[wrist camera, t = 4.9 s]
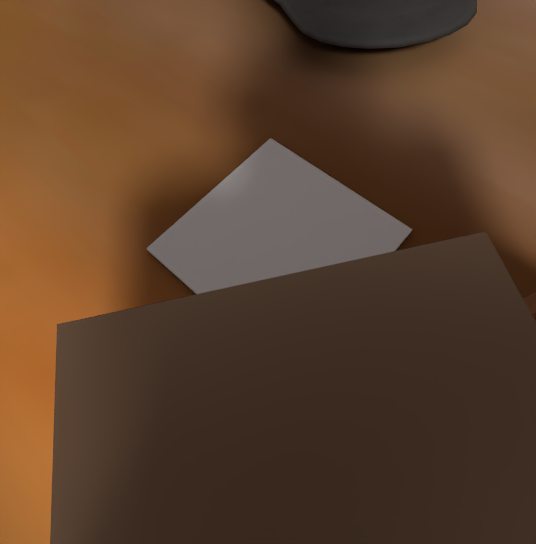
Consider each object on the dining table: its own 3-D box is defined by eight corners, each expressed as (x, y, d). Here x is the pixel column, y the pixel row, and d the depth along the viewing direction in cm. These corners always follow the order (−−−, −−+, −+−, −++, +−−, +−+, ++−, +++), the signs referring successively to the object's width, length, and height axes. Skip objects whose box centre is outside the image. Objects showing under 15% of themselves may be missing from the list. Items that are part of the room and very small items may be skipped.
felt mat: (289, 377, 16) (289, 376, 16) (148, 250, 19) (146, 248, 19) (410, 232, 19) (412, 229, 19) (270, 141, 22) (270, 138, 22)
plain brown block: (366, 491, 14) (796, 797, 2) (249, 520, 13) (35, 1028, 2) (334, 381, 15) (482, 223, 4) (230, 405, 15) (58, 314, 4)
